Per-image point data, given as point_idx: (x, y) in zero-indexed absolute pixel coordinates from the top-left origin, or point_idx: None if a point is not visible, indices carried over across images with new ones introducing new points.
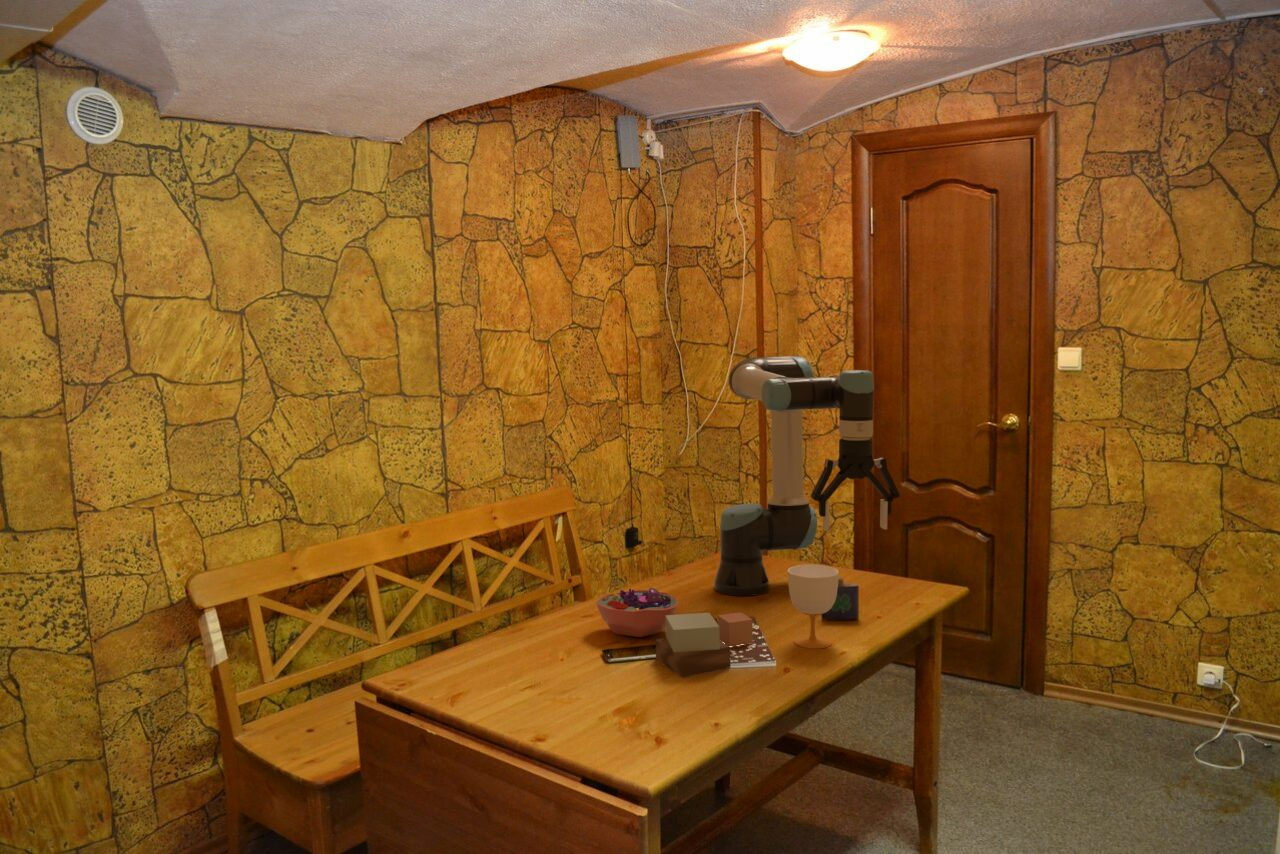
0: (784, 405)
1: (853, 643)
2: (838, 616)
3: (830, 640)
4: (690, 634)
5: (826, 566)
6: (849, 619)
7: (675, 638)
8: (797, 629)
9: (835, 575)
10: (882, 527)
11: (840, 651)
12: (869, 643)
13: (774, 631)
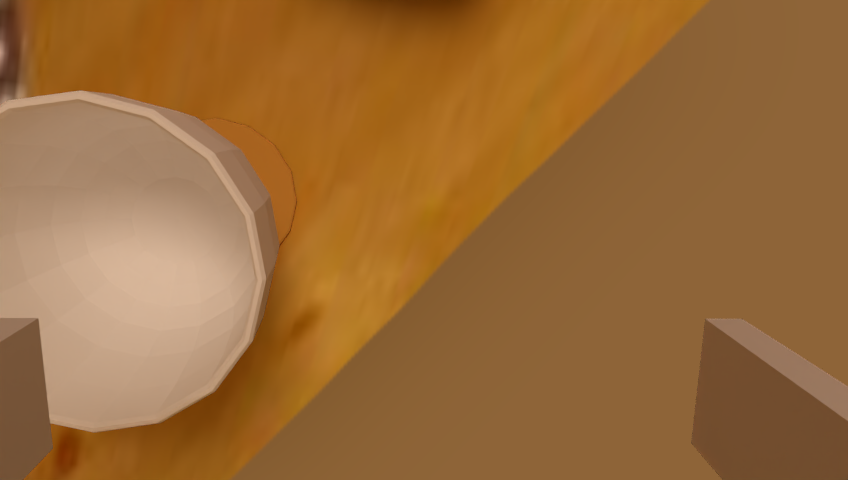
0: None
1: (375, 231)
2: None
3: (289, 202)
4: None
5: (209, 165)
6: None
7: None
8: (187, 29)
9: (218, 386)
10: (701, 400)
11: (300, 307)
12: (436, 239)
13: (80, 40)
